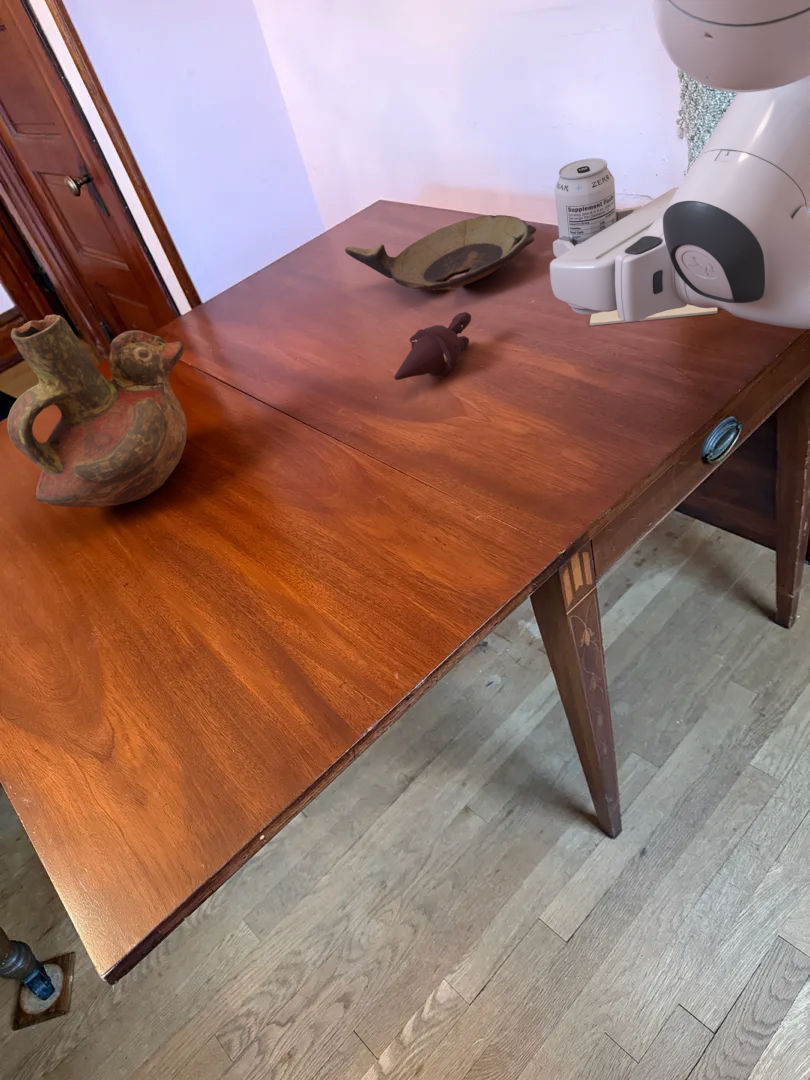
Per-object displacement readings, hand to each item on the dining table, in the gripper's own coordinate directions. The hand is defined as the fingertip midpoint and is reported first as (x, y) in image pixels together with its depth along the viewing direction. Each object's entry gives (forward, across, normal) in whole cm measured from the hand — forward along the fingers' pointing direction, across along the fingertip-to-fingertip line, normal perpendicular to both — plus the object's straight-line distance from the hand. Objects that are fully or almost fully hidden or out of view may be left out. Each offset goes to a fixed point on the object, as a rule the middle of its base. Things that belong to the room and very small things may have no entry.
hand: (581, 232), depth 81 cm
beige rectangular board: (+6, -18, +18) cm, 26 cm away
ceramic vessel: (+36, +49, +20) cm, 64 cm away
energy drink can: (-1, 0, +8) cm, 8 cm away
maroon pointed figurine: (+19, +10, +18) cm, 28 cm away
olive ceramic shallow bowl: (+41, -11, +18) cm, 46 cm away
